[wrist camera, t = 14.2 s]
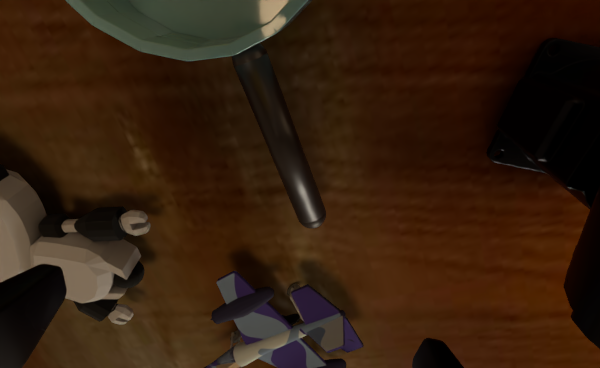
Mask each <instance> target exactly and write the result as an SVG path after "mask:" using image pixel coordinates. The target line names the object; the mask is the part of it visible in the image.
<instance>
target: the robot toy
mask: <svg viewBox="0 0 600 368" xmlns="http://www.w3.org/2000/svg"><path fill="white" fill-rule="evenodd" d="M147 219H148V217H147V215H146V214H145V213H144V212H143V211H139V210H130V211H128V212H127V211H126V209H125V208H124V207H106V208H97V209H95V210H93V211H92V212H90V213H88V214H86V215H85V216H83V217H81V218H80V219H70V218H69V216H68V215H66V214H50V215H48V216H47V214H46V212H45V209H44V206H43V204H42V202H41V200H40V198H39V196H38V194H37V193H36V191H35V190H34V189H33V188H32V187H31V186H30V185H29V184H28V183H27V182H26V181H25V180H24V179H23V178H22V177H21V176H20V175H19V174H18V173H17V172H13V171H10V170H7V169H6V168H5V167H4V166H3V165H1V164H0V282H2V281H4V280H7V279H9V278H11V277H13V276H15V275H17V274H20V273H22V272H24V271H26V270H28V269H30V268H33V267H35V266H37V265H39V264H50V265H55V266H59V267H61V269H62V270H63V275H64V279H65V283H66V288H67V293H66V297H65V298H66V299H70V300H73V301H74V303H75V304H76V306H77V308H78V310H79V311H81V312H83V313H85V314H86V315H88V316H90V317H92V318H94V319H96V320H98V321H102V320H103V319H104V318H105V317H106V316H108V317H109V319H110V320H111V321H112V322H113V323H116V324H119V325H122V324H126V323H127V321H128V320H130V319H131V318H132V317H133V310H132V309H131V308H130V307H129V306H128V305H123V304H116V303H117V301H118V299H119V298H120V297H121V296H122V295H124V294H125V292H126V290H127V289H128V288H131V287H134V286H135V285H137V284H138V283H139V282H140V281H141V280H142V278H143V275H144V267H143V265H142V263H141V262H140V261H138V260H139V259H140V257H141V254H140V252H139V250H138V248H137V247H136V246H135V245H133V244H131V243H129V242H127V241H126V240H124V239H123V238H124V237H125V236H126V235H127V234H128V233H129V234H132V235H134V236H138V235H141V234H145V233H147V232H148V231H149V229H150V226H151V225H150V222H146V220H147Z"/></svg>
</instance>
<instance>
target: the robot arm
mask: <svg viewBox="0 0 600 368" xmlns="http://www.w3.org/2000/svg"><path fill="white" fill-rule="evenodd" d="M553 45H555V46H556V48H555V51H554V52H553V53H551V54H549V53H548V51H549V48H550V47H551V46H553ZM497 126H498V130H497V132H496V134H495V136H494V138H493V140H492V142H491V144H490V146H489V148H488V150H487V156H488V157H489V159H490V160H491V161H493V162H495V163H500V164H505V165H510V166H514V167H519V168H524V169H529V170H533V171H538V172H543V173H547V174H548V175H550V176H551V177H552V178H553V179H554V180H556V181H557V182H558V183H559V184H560V185H561V186H563V187H564V188H565V189H566V190H567V191H569V192H570V193H571V194H572V195H573V196H575V197H576V198H577V199H578V200H579V201H580V202H582V203H583V204H584V205H585V206H586V207H588V208H589V209H590V212H589V215H588V217H587V220H586V223H585V225H584V228H583V231H582V233H581V236H580V239H579V241H578V244H577V245H576V248H575V250H574V253H573V257H572V260H571V262H570V265H569V268H568V270H567V274H566V278H565V283H564V289H565V292H566V295H567V298H568V301H569V304H570V306H571V308H572V309H573V312H572V314H571V318H572V320H573V321H574V323H575V324H576V325H577V326H578V327H579V329H580V330H581V331H582V332H583V333H584V335H585V336H586V337H587V338H588V339H589V340H590V341H591V342H593V343H594V344H595V345H596V346H597V347H598V348H599V349H600V47H595V46H591V45H586V44H582V43H577V42H572V41H568V40H563V39H558V38H550V39H547V40H546V41H544V42H543V43H542V44H541V46H540V47H539V49H538V51H537V53H536V55H535V57H534V59H533V61H532V63H531V65H530V67H529V69H528V71H527V73H526V75H525V77H524V78H523V79H521V80H520V81H519V82H518V84H517V86H516V88H515V90H514V92H513V94H512V96H511V98H510V100H509V102H508V104H507V106H506V108H505V110H504V112H503V114H502V116H501V118H500V120H499V122H498V124H497ZM498 150H501V153H500V154H499V155H497V156H494V154H495V152H496V151H498ZM66 293H67V288H66V283H65V279H64V275H63V270H62V269H61V267H59V266H55V265H50V264H39V265H37V266H35V267H33V268H30V269H28V270H26V271H24V272H22V273H20V274H17V275H15V276H13V277H11V278H9V279H7V280H4V281H2V282H0V368H22V367H23V365H24V364H25V362H26V361H27V360H28V358H29V356H30V355H31V353H32V352H33V350H34V349H35V347H36V345H37V344H38V342H39V340H40V339H41V337H42V335H43V334H44V332H45V331H46V329H47V327H48V326H49V324H50V322H51V321H52V319H53V317H54V316H55V314H56V312H57V311H58V309H59V307H60V306H61V304H62V303H63V301H64V299H65V297H66ZM412 368H464V367H463V366H462V365H461V363H460V362H459V361H458V359H457V358H456V357H455V356H454V354H453V353H452V352H451V350H450V349H449V348H448V347H447V345H446V344H445V343H444V342H443V341H441V340H437V339H432V338H426V339H424V340H423V342H422V344H421V345H420V347H419V349H418V351H417V352H416V354H415V356H414V358H413V364H412Z"/></svg>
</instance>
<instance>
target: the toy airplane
mask: <svg viewBox="0 0 600 368" xmlns="http://www.w3.org/2000/svg"><path fill="white" fill-rule="evenodd" d="M217 285H218V287H219V289H220V291H221V293H222V296H223V298H224V300H225V302H226V303H224V304H223V305H221V306H220V307H219V308H217V309H215V310H214V311H213V312H212V319H211V320H213V321H214V322H215V323H216V324H220V323H222V322H226V321H230V320H234V321H235V323H236V325H237V327H238V331H235V332H234V333H233V332H232V333H231V334H232V335H231V338H230V340H231V348H230V349H229V350H228V351H227V352H225V353H224V354H223V355H222V356H220V357H219V358H218V359H216V360H215V361H214V362H213V363H211V364H209V365H208V366H206V367H205V368H239V367H244V366H246V365H247V364H249V363H251V362H252V361H254V360H256V359H257V358H258V359H260V360H262V361H265V362H267V363H269V364H271V365H273V366H276V367H278V368H346V362H345V361H344V360H343V359H329V360H323V359H322V358H321V357H320V356H319V355H318V354H317V353H316V352H315V351H314V350H313V349H312V348H311V347H310V346H309V345H308V344H307V343H306V342H305V341H304V340H303V339H302V337H304V336H306V335H309V336H310V337H311V338H312V339H313V340H314V341H315V342H316V343H317V344H319V345H320V346H321V347H322V348H323V349H324V350H325V351H326V352H327V353H330V352H332V351H335V350H338V349H342V350H344V351H346V352H347V353H348V352H350V351H353V350H356V349H359V348H361V347H363V343H362V342H361V340H360V338H359V337H358V335H357V334H356V332H355V330H354V329H353V327H352V326H351V324H350V322H349V321H348V319H347V318H346V317H345V312H344V311H343V310H339V309H338V308H337V307H336V306H334V305H333V304H332V303H331V302H329V301H328V300H327V299H326V298H325V297H323V296H322V295H321V294H320V293H318V292H317V291H316V290H315V289H313V288H312V287H311V286H310V285H309V284H307V285H305V286H303V287H300V286H299V285H298V284H292V285H291V286H290V287H289V288H288V291H287V293H288V295H289V296H290V299H291V301H292V303H293V305H294V306H295V308H296V310H297V312H298V314H299V315H300V317H301V319H302V321H303V322H304V323H301V324H298V325H295V326H292V325H293V324H295V323H296V322H298V321H299V319H300V317H299V315H298V314H292V315H288V316H284V315H281V314H280V313H279V312H278V311H277V310H276V309H275V308H274V307H273V306H272V305H271V304H270V303H268V301H269V300H270V299H271V298H272V297H273V296H274V290H273V289H272V288H271V287H263V288H258V289H254V288H253V287H252V286H251V285H250V284H249V283H248V282H247V281H246V280H245V279H244V278H243V277H242V276H241V275H240V274H239V273H238V272H237V271H233V272H231V273H229V274H227V275H225V276H223V277H221V278H219V279H218V281H217ZM292 297H293V298H292ZM293 299H294V300H293ZM294 301H295V302H294ZM241 336H242V338H243V340H244V342H242V343H240V338H241ZM236 342H238V343H237V344H236V345H235V346H233V343H236ZM232 346H233V347H232Z"/></svg>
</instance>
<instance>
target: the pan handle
mask: <svg viewBox="0 0 600 368" xmlns="http://www.w3.org/2000/svg"><path fill="white" fill-rule="evenodd" d="M232 61H233V65H234V68H235V70H236V72H237V75H238V77H239V80H240V82H241V84H242V87H243V89H244V92H245V94H246V96H247V99H248V101H249V103H250V106H251V108H252V111H253V113H254V115H255V118H256V120H257V122H258V125H259V127H260V130H261V132H262V134H263V137H264V139H265V141H266V144H267V146H268V149H269V151H270V153H271V156H272V158H273V161H274V163H275V165H276V168H277V170H278V172H279V175H280V177H281V180H282V182H283V184H284V187H285V189H286V191H287V194H288V196H289V199H290V201H291V203H292V206H293V208H294V210H295V213H296V215H297V218H298V220H299V222H300V223H301V224H302V225H303V226H305V227H307V228H317V227H319V226H320V225H321V224H322V223H323V222H324V220H325V218H326V210H325V207H324V205H323V202H322V199H321V197H320V194H319V191H318V188H317V186H316V183H315V180H314V178H313V175H312V172H311V170H310V167H309V164H308V161H307V159H306V156H305V153H304V151H303V148H302V145H301V143H300V140H299V137H298V134H297V132H296V129H295V126H294V124H293V121H292V118H291V116H290V113H289V110H288V108H287V105H286V102H285V99H284V97H283V94H282V91H281V89H280V86H279V83H278V81H277V78H276V75H275V72H274V70H273V67H272V64H271V62H270V59H269V56H268V54H267V51H266V49H265V48H264V47H263V46H262V45H261V44H260V43H258V44H256V45H254V46H252V47H250V48H248V49H246V50H244V51H242V52H241V53H239V54H237V55H234V56H232Z"/></svg>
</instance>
